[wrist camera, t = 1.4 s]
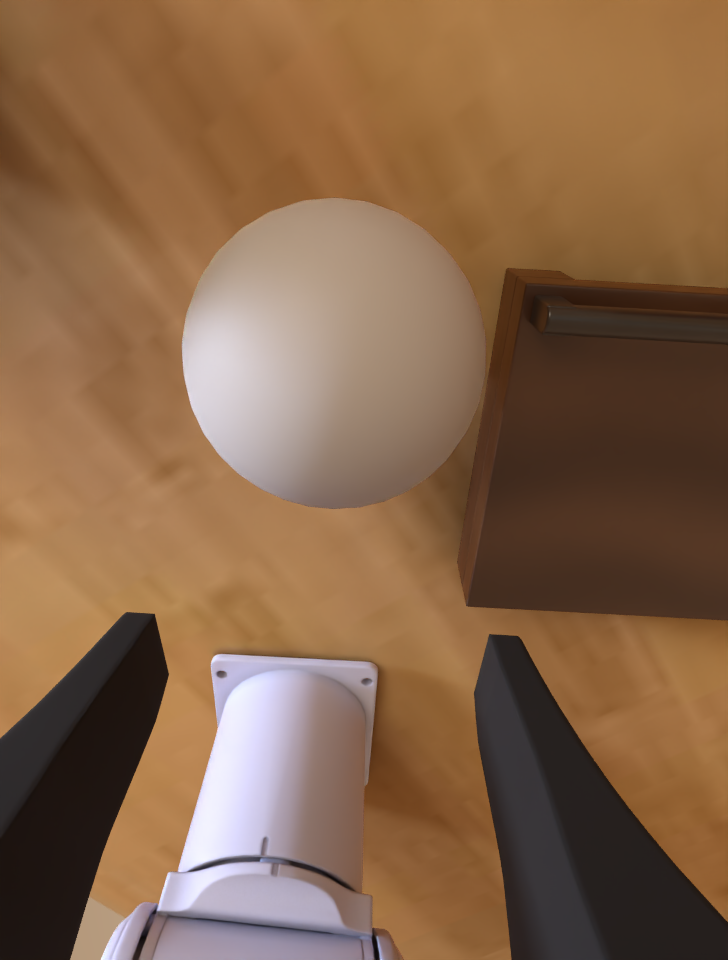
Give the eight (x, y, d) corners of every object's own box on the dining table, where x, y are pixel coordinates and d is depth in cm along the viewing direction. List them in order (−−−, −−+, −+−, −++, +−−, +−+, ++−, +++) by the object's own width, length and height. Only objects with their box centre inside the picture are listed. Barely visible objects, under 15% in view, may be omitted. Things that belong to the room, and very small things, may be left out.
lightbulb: (236, 210, 17) (63, 256, 8) (430, 167, 17) (503, 162, 7) (286, 392, 20) (204, 590, 11) (453, 362, 20) (526, 546, 10)
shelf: (802, 581, 24) (883, 659, 20) (456, 562, 24) (472, 637, 20) (962, 294, 18) (1119, 327, 14) (505, 267, 18) (540, 293, 14)
